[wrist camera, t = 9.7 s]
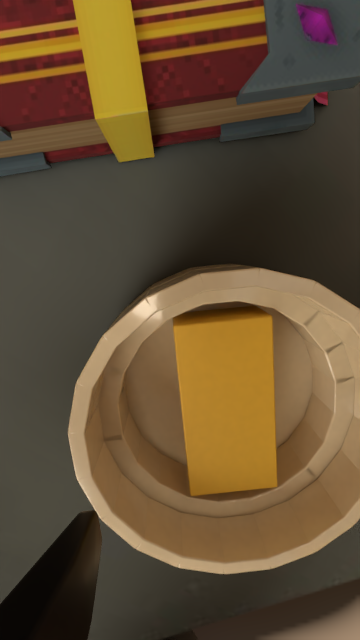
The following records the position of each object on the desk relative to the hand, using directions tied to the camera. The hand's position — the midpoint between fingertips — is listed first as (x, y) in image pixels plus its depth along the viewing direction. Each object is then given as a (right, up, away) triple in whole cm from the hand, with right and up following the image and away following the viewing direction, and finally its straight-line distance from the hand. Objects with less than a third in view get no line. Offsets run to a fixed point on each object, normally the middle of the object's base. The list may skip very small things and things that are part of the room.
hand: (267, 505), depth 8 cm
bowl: (0, +2, +8) cm, 8 cm away
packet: (0, +1, +7) cm, 8 cm away
